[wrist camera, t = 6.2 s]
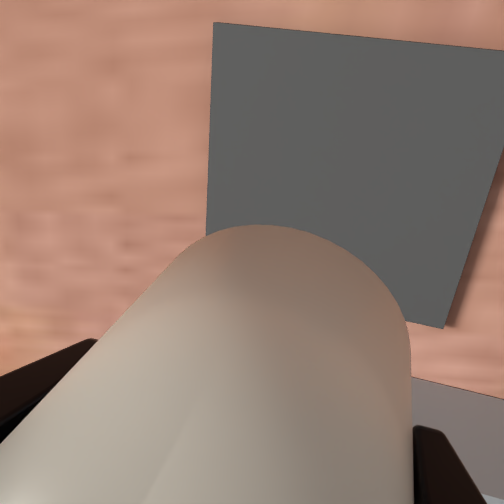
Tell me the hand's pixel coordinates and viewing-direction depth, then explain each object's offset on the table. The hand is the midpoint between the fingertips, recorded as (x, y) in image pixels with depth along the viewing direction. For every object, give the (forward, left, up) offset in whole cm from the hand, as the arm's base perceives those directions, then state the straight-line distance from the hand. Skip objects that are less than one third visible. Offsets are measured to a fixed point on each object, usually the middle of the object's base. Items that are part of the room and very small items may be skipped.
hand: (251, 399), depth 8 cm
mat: (0, 0, -11) cm, 11 cm away
